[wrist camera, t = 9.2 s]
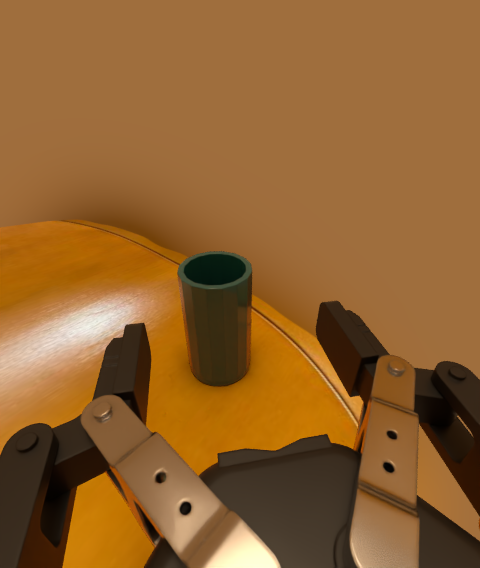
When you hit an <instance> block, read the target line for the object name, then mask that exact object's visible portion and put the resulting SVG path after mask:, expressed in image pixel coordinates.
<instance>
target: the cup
mask: <svg viewBox="0 0 480 568" xmlns="http://www.w3.org/2000/svg"><path fill="white" fill-rule="evenodd" d="M177 274H178V282H179V289H180V297H181V304H182V312H183V319H184V327H185V334H186V342H187V349H188V357H189V364H190V368H191V371H192V373H193V375H194V376H195V377H196V378H197V379H198V380H199V381H201V382H203V383H205V384H207V385H211V386H225V385H229V384H232V383H235V382H237V381H238V380H240V379H241V378H242V377H243V376H244V375H245V374H246V373H247V371H248V369H249V365H250V347H251V302H252V267H251V264H250V262H249V261H248V260H247V259H246V258H244V257H242V256H240V255H237V254H234V253H229V252H224V251H223V252H222V251H216V252H215V251H214V252H205V253H200V254H196V255H194V256H192V257H189V258H187V259H186V260H185V261H183V262H182V263H181V264H180V265H179V268H178V272H177Z"/></svg>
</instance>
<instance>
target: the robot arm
mask: <svg viewBox="0 0 480 568" xmlns="http://www.w3.org/2000/svg"><path fill="white" fill-rule="evenodd" d="M316 335H317V339H318V341H319V343H320V344H321V346H322V348H323V350H324V352H325V353H326V355H327V357H328V359H329V361H330V362H331V364H332V366H333V368H334V369H335V371H336V373H337V375H338V377H339V378H340V380H341V382H342V384H343V385H344V387H345V389H346V391H347V393H348V394H349V396H350V397H353V396H360V397H361V399H362V400H363V405H362V410H361V415H360V420H359V424H358V429H357V434H356V439H355V443H354V447H353V449H351V448H349V447H346V446H343V445H340V444H336V443H331V442H330V440H329V437H328V435H327V434H324V435H319V436H313V437H307V438H302V439H299V440H297V441H295V442H293V443H291V444H289V445H287V446H285V447H283V448H281V449H279V450H276V451H269V450H258V449H240V450H234V451H229V452H223V453H218V463H216V464H214V465H212V466H210V467H209V468H207V469H206V470H205V471H204V472H202V473H201V474H200V475H199V476H198V475H197V474H196V473H195V472H194V471H193V470H192V469H191V468H190V467H189V466H188V465H187V463H186V462H185V461H184V460H183V459H182V458H181V457H180V456H179V455H178V454H177V452H176V451H175V450H174V449H173V448H172V447H171V446H170V445H169V444H168V443H167V441H166V440H165V439H164V438H163V437H162V436H161V435H160V434H159V433H157V432H154V433H152V432H151V431H150V430H149V429H148V428H147V427H146V417H147V405H148V393H149V381H150V369H151V351H150V346H149V341H148V337H147V332H146V328H145V324H144V323H138V324H129V325H126V326H125V329H124V334H123V337H121V338H113V340H112V341H111V342H110V343H109V345H108V346H107V347H106V350H105V354H104V360H103V362H102V368H101V369H100V373H99V377H98V381H97V385H96V389H95V393H94V396H93V400H92V402H90V403H89V404H88V405H87V406H86V407H85V409H84V410H83V412H82V414H81V415H80V416H78V417H77V418H75V419H73V420H71V421H69V422H67V423H64V424H62V425H60V426H57V427H55V428H51V427H50V426H49V425H47V424H43V423H37V424H32V425H29V426H27V427H25V428H23V429H21V430H19V431H18V432H17V433H15V434H14V435H13V436H12V437H11V438H10V439H9V440H8V441H7V443H6V444H5V446H4V448H3V450H2V453H1V455H0V568H62V566H63V561H64V555H65V550H66V544H67V539H68V533H69V528H70V523H71V517H72V512H73V506H74V501H75V495H76V490H77V486H79V485H81V484H83V483H85V482H87V481H89V480H90V479H92V478H94V477H96V476H98V475H100V474H102V473H104V472H105V473H106V474H107V476H108V477H109V479H110V480H111V482H112V483H113V485H114V486H115V488H116V489H117V490H118V492H119V493H120V495H121V496H122V498H123V499H124V501H125V502H126V504H127V505H128V507H129V508H130V510H131V511H132V513H133V515H134V517H135V518H136V520H137V522H138V523H139V525H140V527H141V528H142V530H143V531H144V533H145V534H146V536H147V537H148V539H149V540H150V542H151V543H152V545H153V546H154V550H153V552H152V554H151V556H150V557H149V559H148V561H147V563H146V564H145V566H144V568H480V541H479V540H477V539H476V538H475V537H473V536H472V535H471V534H469V533H468V532H467V531H465V530H463V529H462V528H461V527H460V526H458V525H457V524H456V523H454V522H453V521H452V520H450V519H449V518H447V517H446V516H445V515H443V514H442V513H441V512H439V511H438V510H437V509H435V508H434V507H433V506H431V505H430V504H428V503H427V502H426V501H424V500H423V499H421V498H420V497H419V496H418V495H417V466H418V465H417V464H418V432H419V430H418V429H419V428H418V427H419V424H420V426H421V427H422V429H423V430H424V432H425V433H426V435H427V436H428V438H429V439H430V441H431V443H432V444H433V445H434V447H435V449H436V450H437V451H438V453H439V455H440V456H441V458H442V459H443V461H444V462H445V464H446V466H447V467H448V468H449V470H450V472H451V473H452V475H453V476H454V478H455V479H456V481H457V482H458V484H459V485H460V487H461V489H462V490H463V492H464V493H465V494H466V496H467V498H468V499H469V501H470V502H471V504H472V505H473V507H474V508H475V510H476V511H477V513H478V515H479V516H480V380H479V379H478V378H477V377H476V376H475V375H474V374H473V373H472V372H471V371H470V370H469V369H468V368H466V367H464V366H462V365H460V364H458V363H455V362H450V361H443V362H440V363H438V364H437V366H436V368H435V370H427V369H418V368H413V366H412V365H411V364H410V363H409V362H407V361H406V360H404V359H402V358H400V357H398V356H394V355H390V354H389V353H388V352H387V351H386V349H385V348H384V347H383V346H382V344H381V343H380V342H379V341H378V339H377V338H376V337H375V336H374V334H373V333H372V332H371V331H370V329H369V328H368V327H367V326H366V325H365V323H364V322H363V320H362V319H361V318H360V317H359V316H358V315H356V314H355V313H353V312H352V311H350V310H347V311H346V310H345V309H344V308H343V306H342V305H341V304H340V302H338V301H330V302H322V303H321V304H320V307H319V313H318V319H317V325H316ZM457 415H458V416H459V417H460V418H461V419H462V421H463V422H464V423H465V424H466V425H467V427H468V428H469V429H470V431H471V433H472V435H473V436H472V435H471V434H470V433H469V431H468V430H467V429H466V428H465V426H464V425H463V424H462V422H461V421H460V420H459V419H458V417H457ZM473 437H474V438H473ZM479 529H480V519H479Z"/></svg>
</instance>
